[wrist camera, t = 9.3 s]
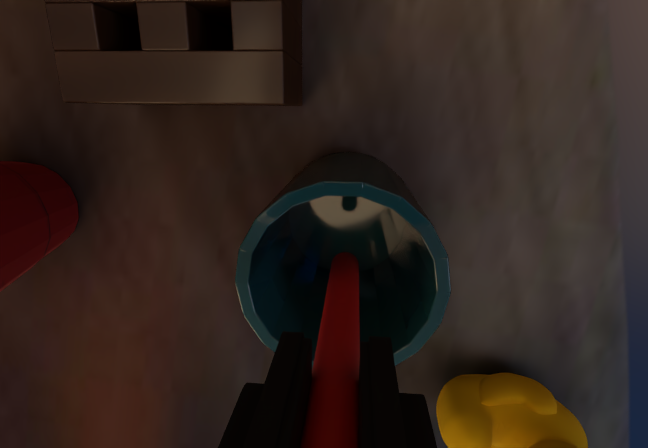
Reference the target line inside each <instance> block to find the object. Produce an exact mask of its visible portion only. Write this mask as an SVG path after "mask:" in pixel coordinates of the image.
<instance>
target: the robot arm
mask: <svg viewBox="0 0 648 448" xmlns="http://www.w3.org/2000/svg"><path fill="white" fill-rule="evenodd" d="M311 380H312V339H309V338H304V332H287V331H283V332H282V334H281V337H280V340H279V343H278V345H277V348H276V351H275V354H274V357H273V360H272V363H271V366H270V369H269V372H268V375H267V378H266V381H265V384H258V383H246V384H245V385H244V387H243V389H242V391H241V394H240V396H239V398H238V401H237V403H236V406H235V408H234V410H233V413H232V415H231V418H230V420H229V423H228V425H227V427H226V430H225V432H224V435H223V437H222V439H221V442H220V444H219V447H218V448H300V444H301V438H302V432H303V426H304V421H305V415H306V409H307V403H308V398H309V392H310V386H311ZM359 448H437V446H436V441H435V437H434V433H433V429H432V425H431V420H430V416H429V412H428V408H427V404H426V400H425V397H424V395H422V394H407V393H399V390H398V383H397V377H396V370H395V363H394V356H393V350H392V343H391V338H390V337H377V336H369V341H368V342H362V341H361V342H360V364H359Z"/></svg>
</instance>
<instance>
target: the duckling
mask: <svg viewBox="0 0 648 448" xmlns="http://www.w3.org/2000/svg"><path fill="white" fill-rule="evenodd" d="M437 419H438V425H439V429H440V433H441V436H442V438H443V440H444V442H445V444H446V445H447V446H448V448H588V442H587V437H586V434H585V432H584V429H583V428H582V426H581V424H580V423H579V421H578V420H577V418H576V417H575V416H574V415H573V414H572V413H571V412H570V411H569V410H568V409H567V408H566V407H564V406H563V405H562V404H561V403H559V402H558V401H557V400H555V398H554V396H553V395H552V394H551V392H550V391H549V390H548V389H547V388H545V387H544V386H543V385H542V384H540V383H539V382H537V381H535V380H533V379H531V378H528V377H524V376H521V375H517V374H513V373H508V372H504V373H496V374H491V375H486V374H465V375H460V376H457V377H455V378H453V379H451V380H450V381H448V382H447V383H446V384H445V385H444V387H443V388H442V390H441V392H440V394H439V397H438V400H437Z"/></svg>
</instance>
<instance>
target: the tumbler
mask: <svg viewBox="0 0 648 448" xmlns="http://www.w3.org/2000/svg"><path fill="white" fill-rule="evenodd" d="M342 252H348V253H351V254H353V255H354V256H355V257H356V258H357V260H358V263H359V321H360V342H361V341H362V342H368V341H369V336H377V337H390V338H391V343H392V350H393V356H394V363H395V366H396V365H397V364H399V363H401V362H402V361H404V360H406V359H407V358H409V357H411V356H412V355H414V354H415V353H417V352H418V351H419V350H420V349H421V348H422V347H423V346H424V345H425V343H426V342H427V341H428V340H429V338H430V337H431V336H432V335H433V333H434V332H435V331H436V330H437V328H438V327H439V326H440V324H441V322H442V319H443V316H444V313H445V309H446V306H447V303H448V300H449V297H450V294H451V292H450V291H451V283H450V270H449V258H448V254H447V252H446V250H445V248H444V246H443V245H442V243H441V241H440V239H439V237H438V235H437V233H436V231H435V229H434V227H433V225H432V223H431V222H430V220H429V219H428V217H427V216H426V214H425V213H424V211H423V210H422V208H421V207H420V205H419V204H418V202H417V201H416V199H415V198H414V196H413V195H412V193H411V192H410V190H409V189H408V187H407V186H406V184H405V183H404V181H403V180H402V178H401V177H400V176H399V175H397V174H396V172H395V171H393V170H392V169H391V168H390V167H389V166H388V165H386V164H385V163H383V162H382V161H380V160H378V159H376V158H374V157H371V156H369V155H366V154H361V153H356V152H339V153H333V154H329V155H326V156H323V157H321V158H319V159H317V160H314V161H312V162H311V163H310V164H308V165H307V166H306V167H305V168H303V169H302V170H301V171H300V172H299V173H298V174H296V175H295V176H294V177H293V179H292V180H291V181H290V182H289V183H288V184H287V185H286V186H285V187H284V188H283V189H282V190H281V191H280V193H279V194H278V195H277V196H276V197H275V198H274V199H273V200H272V201H271V202H270V203H269V204H268V205H267V207H266V208H265V209H264V210H263V211H262V212H261V213H260V214H259V215H258V216H257V218H256V219H255V220H254V222H253V224H252V226H251V228H250V229H249V231H248V233H247V235H246V237H245V238H244V240H243V242H242V244H241V246H240V249H239V252H238V260H237V269H236V277H235V284H236V288H237V292H238V296H239V300H240V304H241V308H242V312H243V314H244V317H245V318H246V320H247V321H248V323H249V324H250V325H251V327H252V328H253V330H254V331H255V333H256V334H257V336H258V337H259V339H260V340H261V341H262V342H263V344H265V345H266V346H267V347H269V348H270V349H271V350H272V351H274V352H275V351H276V348H277V345H278V343H279V340H280V337H281V334H282V332H283V331H287V332H304V338H309V339H312V369H313V364H314V358H315V352H316V347H317V341H318V336H319V330H320V325H321V319H322V313H323V308H324V302H325V297H326V291H327V286H328V280H329V274H330V269H331V263H332V260H333V258H334V257H335V256H336V255H337V254H339V253H342Z"/></svg>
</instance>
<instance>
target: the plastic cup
mask: <svg viewBox="0 0 648 448" xmlns="http://www.w3.org/2000/svg"><path fill="white" fill-rule="evenodd" d="M78 219H79V214H78V202H77V200H76V198H75V196H74V194H73V192H72V189H71V187H70V186H69V185H68V184H67V183H66V182H65V181H64V180H63V179H62V178H61V176H60V175H59V174H57V173H56V172H54V171H52V170H50V169H48V168H46V167H44V166H43V165H36V164H32V163H25V162H18V161H0V291H2V290H3V289H4V288H6V287H7V286H8V285H10V284H11V283H12V282H14V281H15V280H16V279H18V278H19V277H20V276H22V275H23V274H24V273H25V272H27V271H28V270H29V269H31V268H32V267H33V266H34V265H35V264H36V263H37V262H39V261H40V260H41V259H42V258H43V257H45V256H46V255H47V254H49V253H50V252H51V251H53V250H54V249H56V248H57V247H58V246H60V245H61V244H62V243H63V242H64V241H65V240H66V239H67V238H68V237H70V235H71V234H72V233H73V232H74V230H75V227H76V225H77V222H78Z"/></svg>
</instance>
